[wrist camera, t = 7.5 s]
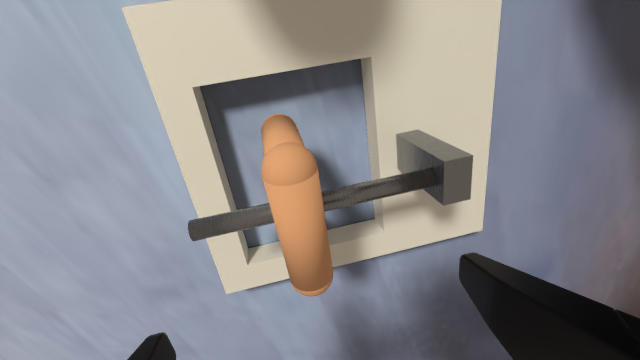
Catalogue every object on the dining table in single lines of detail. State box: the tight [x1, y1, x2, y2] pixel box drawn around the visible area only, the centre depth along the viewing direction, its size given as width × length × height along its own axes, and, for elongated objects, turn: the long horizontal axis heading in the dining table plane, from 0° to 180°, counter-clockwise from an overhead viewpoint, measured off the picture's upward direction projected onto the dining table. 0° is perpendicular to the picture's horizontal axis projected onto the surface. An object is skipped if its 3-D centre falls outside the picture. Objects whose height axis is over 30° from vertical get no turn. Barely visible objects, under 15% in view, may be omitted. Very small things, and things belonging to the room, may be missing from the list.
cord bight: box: [261, 114, 333, 296], centre depth 15 cm, size 2×8×6 cm, turn 9°
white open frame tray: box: [122, 0, 502, 294], centre depth 20 cm, size 20×18×2 cm
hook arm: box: [188, 130, 473, 241], centre depth 17 cm, size 14×2×6 cm, turn 99°
